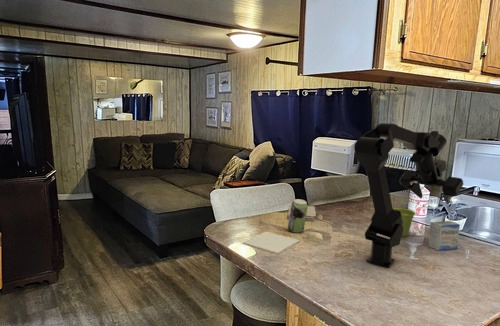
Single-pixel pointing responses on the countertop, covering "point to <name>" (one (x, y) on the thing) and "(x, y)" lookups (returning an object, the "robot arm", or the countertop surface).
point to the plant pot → (406, 219)
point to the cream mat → (271, 242)
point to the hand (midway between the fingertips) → (434, 200)
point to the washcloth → (310, 213)
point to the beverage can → (297, 215)
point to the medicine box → (444, 235)
